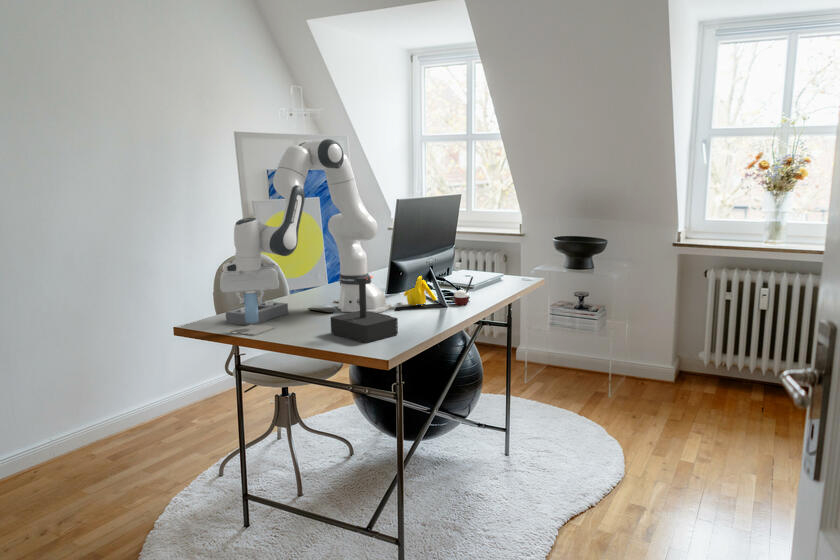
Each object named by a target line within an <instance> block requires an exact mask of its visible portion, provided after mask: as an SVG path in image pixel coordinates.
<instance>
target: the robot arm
mask: <svg viewBox="0 0 840 560" xmlns="http://www.w3.org/2000/svg"><path fill="white" fill-rule="evenodd" d="M310 170H311V171H312V170H313V171H314V170H315V171H319V170H323V172H324V173H325V177H326V182H327V187H328V191H329V194H330V199H331V202H332V204H333V206H335V207H336V208H337V209H338V211H339V212H340V213H336V214H334V215H332V216H331V217H330V218H329V220H328V223H327V229H328V232H329V233H330V234H331V236H332V237H333V240H334V241H335V244H336V248H337V251H338V257H339V270H340V271H339V272H340V273H339V285H340V288H339V289H340V290H339V291H340V292H339V301H338V305H337V309H339V310H340V312H343V313H345V312H346V313H351V312H356V311H360V300H359V284H358V283H357V278H360V277H366V278H367V283H366V311H369V312H375V313H382V312H383V313H384V312H386V311H389V310H390V309H392V304H391V303H390V304H389V303H387V301H386V300H387V298H386V296H385V293H384V292H383V291H382V290H381V289H380V288H379V287H377V286H376V285H375V284H374V283H372V279H373V278H374V275H370V274H369V273H368V260H367V259H368V257H367V253H366V251H365V250H364V249H363V247H362V245H361V242H366V241H370V240H372V239H374V238H375V237H376V235H377V233H378V227H379V226H378V223H377V221H376V219H375V218H374V217H373V216H371V214H370V213H369V212H368V210H367V208H366V207H365V205H364V203H363V201H362V199H361V196H360V193H359V190H358V186H357V182H356V177H355V174H354V170H353V168H352V165H351V161H350V160H349V157H348V156H347V155H346V154H345V153H344V151H343V148H342V146H341V144H340V143H339V142H338V141H336V140H334V139H329V138H325V139H315V140H312V141H305V142H301V143H300V144H298V145H290V146H288V147H287V148H286V149H285V152H284V153H283V155H282V156H281V158H280V159H279V162H278V165H277V167H276V170H275V173H274V176H273V182H272V185H273V188H274V190H275V192H276V193H277V194H278V195H279V196H281V197H282V198H283V199H285V208H284V212H283V217H282V221H281V223H280V225H279V226H272V225H271V226H270V225H267V224H264V223H262V222H260V221H259V220H258V219H257V218H256V217H246V218H245V217H244V218H241V219H239V220H237V221H236V222H235V224H234V227H233V229H234V230H233V243H234V247H235V253H234V258H235V259H233V260H231V261H228V262H226V263H224V264H222V270H223V271H222V272H221V274H220V282H219V289H220V292H222V294H223V293H224V294H226V293H235V294H236V297H237V298H238V299H239V305H244V297H241V292H244V291H256V292H257V291H259V292H260V295H259V296H257V302H258V303H262V302H263V301H262V300H263V297H264V295H265V291H267V290H278V289H279V288H280V281H279V273H280V267H279V265H278V264H276V263H273V262H271V263H262V253H267V254H270V255H271V254H273V255H277V256H281V257H287V256H290V255H292V254H293V253H294V252H295V250H296V248H297V247H298V241H299V230H300V229H299V228H300V223H301V220H302V219H301V218H302V215H303V210H304V205H305V200H306V193H305V190H304V187H305V182H306V179H307V176H308V172H309V171H310Z"/></svg>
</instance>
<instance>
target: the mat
mask: <svg viewBox="0 0 840 560" xmlns="http://www.w3.org/2000/svg"><path fill="white" fill-rule="evenodd" d="M275 328H276V327H275V326H269V325H268V326H267V325H258V324H254V325H245V326H242V327H239V328H236V329H233V330H230V331H229V333H230V332H237V333H245V334H250V335H249V336H252V335H255V336H257V334H258V335H260V333H261V334H264V333H266V331H267V332H269V331H272V330H275ZM263 332H264V333H263ZM237 333H236V334H237Z"/></svg>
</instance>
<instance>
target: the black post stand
mask: <svg viewBox="0 0 840 560" xmlns="http://www.w3.org/2000/svg"><path fill="white" fill-rule="evenodd" d="M357 283H358V284H359V300H360V311H356V312H346V313H342V314H339V315H333V316H331V317H330V332H331V334H333V335H335V336H338V337H339V336H340V337H343V338H347V339H350V340H354V341H358V342H361V343H364V344H365V343H366V344H367V343H371V342H374V341H377V340H378V341H379V340H382V339H383V340H384V339H387V338H389V337H394V336H397V335H398V334H399V330H398V329H399V323H398V318H397V317H394V316H391V315H387V314H384V313H381V312H378V313H375V312H369V311H366V283H367V278H366V277H360V278H357Z"/></svg>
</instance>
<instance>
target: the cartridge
mask: <svg viewBox="0 0 840 560" xmlns="http://www.w3.org/2000/svg"><path fill="white" fill-rule="evenodd" d="M257 297H258V291H257V290H256V291H243V298H244V304H243V307H244V309H245V322H247V323H254V322H258V321H259V320H258V302H257Z"/></svg>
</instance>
